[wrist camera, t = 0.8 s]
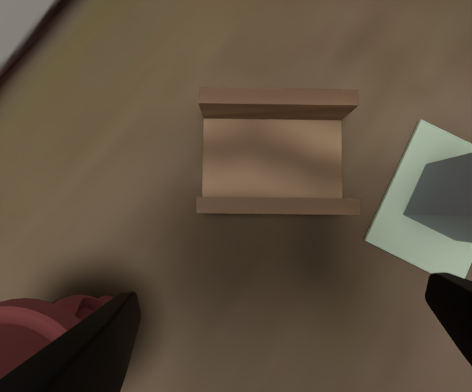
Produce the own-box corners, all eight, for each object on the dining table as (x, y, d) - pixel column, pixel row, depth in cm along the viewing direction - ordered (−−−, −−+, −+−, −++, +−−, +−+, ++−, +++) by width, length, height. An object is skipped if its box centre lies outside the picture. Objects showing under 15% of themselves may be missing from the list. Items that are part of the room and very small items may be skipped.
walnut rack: (338, 214, 21) (361, 214, 18) (203, 212, 21) (196, 213, 18) (337, 110, 22) (358, 89, 18) (205, 109, 22) (199, 87, 18)
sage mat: (457, 286, 21) (460, 287, 21) (363, 240, 21) (365, 240, 21) (510, 164, 22) (514, 164, 22) (418, 120, 22) (421, 119, 22)
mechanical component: (8, 349, 21) (75, 248, 21) (106, 414, 20) (171, 310, 21) (-325, 551, 8) (-146, 298, 9) (-91, 724, 8) (80, 452, 9)
